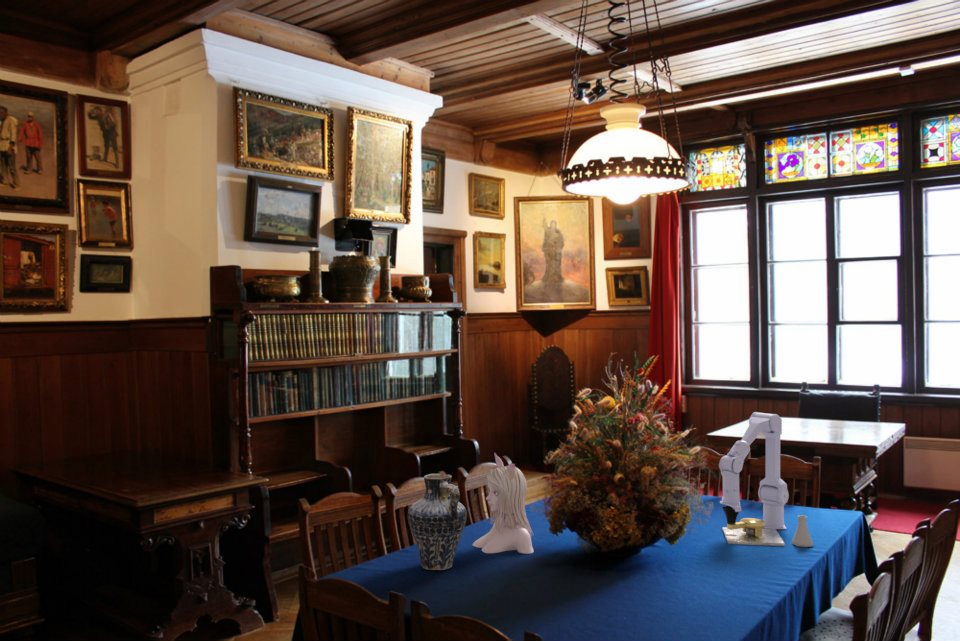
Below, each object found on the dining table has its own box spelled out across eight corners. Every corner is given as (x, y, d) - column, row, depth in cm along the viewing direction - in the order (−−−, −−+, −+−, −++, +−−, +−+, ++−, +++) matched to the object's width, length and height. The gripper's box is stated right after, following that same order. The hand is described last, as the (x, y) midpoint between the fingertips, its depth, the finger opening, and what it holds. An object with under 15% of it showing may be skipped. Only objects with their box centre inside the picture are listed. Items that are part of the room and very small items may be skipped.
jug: (396, 567, 258) (394, 476, 257) (438, 553, 272) (437, 467, 272) (440, 581, 244) (438, 485, 243) (482, 565, 258) (480, 474, 257)
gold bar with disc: (753, 529, 290) (753, 516, 290) (769, 535, 282) (769, 522, 282) (721, 534, 284) (721, 521, 284) (737, 540, 276) (737, 527, 276)
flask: (817, 547, 272) (816, 518, 272) (796, 547, 272) (795, 519, 272) (808, 541, 279) (808, 513, 279) (788, 541, 279) (788, 513, 279)
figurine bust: (463, 539, 289) (461, 452, 288) (512, 531, 297) (511, 447, 297) (494, 559, 265) (492, 464, 264) (546, 550, 273) (545, 459, 273)
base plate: (722, 529, 295) (722, 518, 295) (775, 531, 291) (775, 520, 291) (728, 543, 277) (727, 532, 277) (784, 546, 274) (784, 534, 274)
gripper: (713, 485, 290) (713, 521, 290) (727, 494, 275) (727, 532, 276) (732, 484, 290) (732, 521, 290) (746, 493, 276) (747, 532, 276)
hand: (731, 526), depth 283 cm, fingers closed, pressing on gold bar with disc
